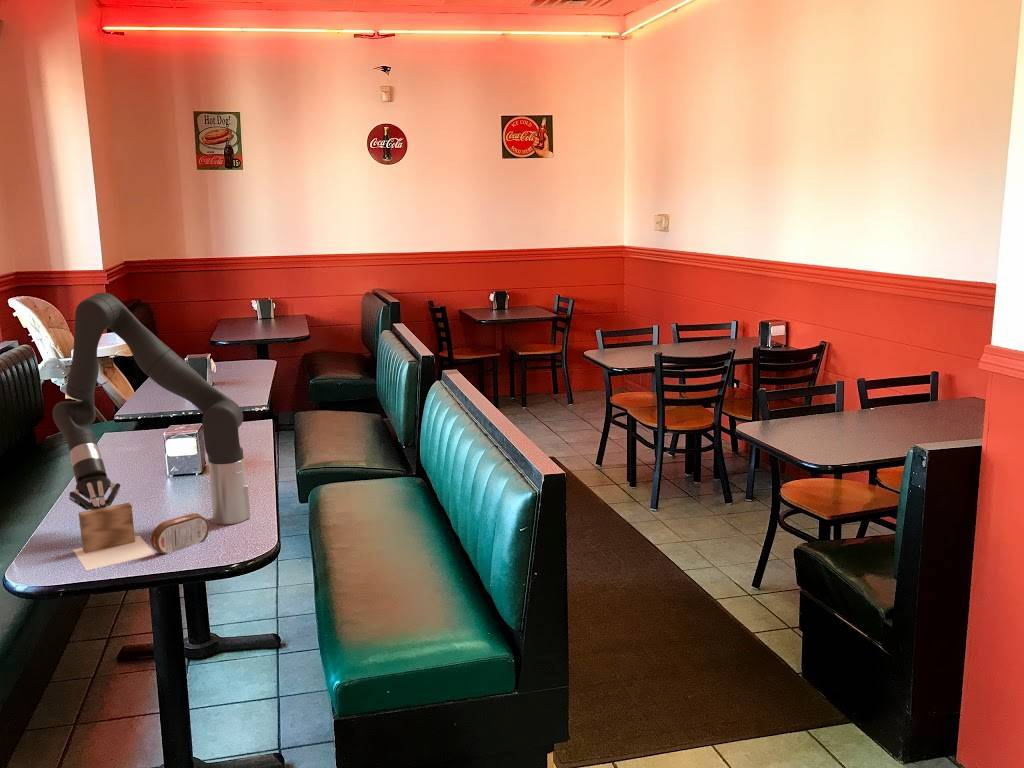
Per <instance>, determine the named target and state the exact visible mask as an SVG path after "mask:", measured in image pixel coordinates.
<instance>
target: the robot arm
mask: <svg viewBox="0 0 1024 768" xmlns="http://www.w3.org/2000/svg"><path fill="white" fill-rule="evenodd" d="M108 329H109V330H111V331H112V332H113V333H114V334H116V335H117V337H119V338H120V339H121V340H122V341H123V342H124V343H125V344H126V346H127V347H128V349H129V350H130V353H131V354H132V356H133V359H134V360H135V362H136V364H137V366H138V367H139V369H140V370H141V371H142V372H143V373H144V374H145V375H146V376H148V377H149V378H150V379H151V380H152V381H153V382H154V383H155V384H157V385H158V386H160V388H163V389H164V390H166V391H168V392H169V393H172V394H174V395H177V396H178V397H181V398H183V399H185V400H186V401H188V402H190V403H191V404H192V405H194V407H196V408H197V409H198V410H199V411H200V412H201V413H202V414H203V417H202V433H203V441H204V449H205V453H206V455H207V461H208V470H209V473H208V474H209V484H210V496H211V509H212V520H213V523H215V524H219V525H233V524H234V525H235V524H238V523H242V522H244V521H245V520H247V519H251V506H250V494H249V493H250V492H249V485H247V484H246V473H245V460H244V459H245V458H244V450H243V447H241V444H240V436H239V433H240V432H239V428H240V426H241V425H242V424H243V421H244V414H243V410H242V408H241V407H240V406H239V404H237V403H236V402H235V401H234V400H232V398H231V397H228V396H227V395H225V394H224V393H223V392H222V391H220V390H218V389H217V388H215V386H213V385H211V384H210V383H209V382H208V381H206V379H205V378H203V376H202V375H201V374H200V373H198V372H197V371H196V370H195V369H194V368H192V366H190V365H189V364H188V363H187V362H186V361H185V360H184V359H183V358H182V357H181V356H179V354H177V353H176V352H175V351H174V350H173V349H172V348H171V347H169V346H168V345H166V344H165V343H164V342H163V341H162V340H160V338H158V337H157V336H156V335H155V334H154V333H153V332H152V331H151V330H149V329H148V328H147V327H146V326H144V324H142V323H141V321H139V319H138V318H136V316H135V315H134V314H133V313H132V312H131V311H130V310H129V309H128V308H127V307H126V306H125V304H124V303H122V302H121V301H120V299H118V298H117V297H116V296H114V295H113V294H111V293H108V292H98V293H95V294H93V295H91V296H89V297H86V298H84V299H83V300H82V301H80V302H79V303H78V304H77V306H76V309H75V313H74V332H73V333H74V334H73V335H74V336H73V350H72V358H71V364H70V370H69V373H68V377H67V383H66V387H65V393H66V394H67V396H69V397H70V398H72V399H74V401H68V400H67V401H65V400H64V401H59V402H57V403H56V404H55V405H54V407H53V409H52V419H53V421H54V424H55V425H56V427H57V429H58V431H60V433H61V435H62V436H63V437H64V439H65V441H66V442H67V446H68V447H67V448H68V451H69V456H70V463H71V465H70V466H71V468H72V471H73V475H74V479H75V482H76V485H75V489H74V490H73V491H70V492H69V497H68V499H69V500H70V501H71V502H73V503H74V504H76V505H77V506H79V507H81V508H82V509H83V510H85V511H89V510H94V509H99V508H104V507H110V506H112V504H113V502H114V500H115V498H116V497H117V495H118V494H119V492H120V489H121V483H113V482H111V479H109V477H108V475H107V472H106V467H105V464H104V459H103V456H102V453H101V451H100V448H99V445H98V442H97V439H96V434H95V432H94V430H92V429H91V428H89V427H88V426H90V425H92V424H93V423H94V422H95V420H96V415H97V413H96V406H95V391H96V386H97V382H98V379H99V371H100V367H99V366H100V365H99V359H98V346H99V343H100V340H101V338H102V335H103V333H104V331H106V330H108ZM75 399H76V400H77V401H75ZM78 400H79V401H78ZM109 488H110V490H109ZM108 490H109V491H110V493H109V495H108V497H107V498H105V495H106V494H107V492H108ZM82 496H83V497H82ZM85 498H86V499H85Z"/></svg>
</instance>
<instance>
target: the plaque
mask: <svg viewBox="0 0 1024 768" xmlns="http://www.w3.org/2000/svg"><path fill="white" fill-rule="evenodd" d="M132 507H133V506H132V504H131V503H130V502H126V503H121V504H115V505H110V506H107V507H104V508H99V509H94V510H90V509H89V510H85V511H79V512H78V518H79V528H80V537H81V546H82V547H81V548H83V551H84V552H85V553H88V552H92V551H97V550H101V549H106V548H111V547H115V546H120V545H124V544H129V543H133V542H135V536H136V535H135V526H134V517H133V515H134V514H133V508H132Z"/></svg>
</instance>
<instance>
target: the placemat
mask: <svg viewBox="0 0 1024 768" xmlns="http://www.w3.org/2000/svg"><path fill="white" fill-rule="evenodd" d="M72 551H73V552H74V554H75V555H76V557H77V559H78V560H79V562H80V563H81V565H82V566H83V568H84V570H85V571H91V570H95V569H99V568H103V567H108V566H112V565H116V564H120V563H125V562H129V561H133V560H138V559H142V558H143V559H144V558H147V557H151V556H155V555H156V553H155V551H153V550H152V548H151V547H150V546H149V545H148V544H147V542H145V541H144V539H143V538H142V537H141V535H135V542H133V543H129V544H124V545H120V546H115V547H111V548H106V549H101V550H97V551H92V552H88V553H85V552H84V551H83V547H79V548H75V549H72Z"/></svg>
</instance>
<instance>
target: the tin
mask: <svg viewBox="0 0 1024 768" xmlns="http://www.w3.org/2000/svg"><path fill="white" fill-rule="evenodd" d="M209 524H210V523H209V521H208V520H207V519H206V518H205V517H204V516H202V515H201V514H199V513H196V512H193V513H188V514H185V515H182V516H178V517H175V518H172V519H171V518H170V519H168V520H165V521H162V522H161V523H159V524H158V525H157V526H156V527H154V529H153V530H152V531H153V532H152V533H151V537H150V544H151V547H152V548H153V550H154V551H156V552H157V553H161V554H162V555H168V554H170V553H174V552H176V551H179V550H183V549H185V548H189V547H192V546H194V545H197V544H200V543H204V541H205V540H206V539H207V537H208V535H209V530H210V525H209Z"/></svg>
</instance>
